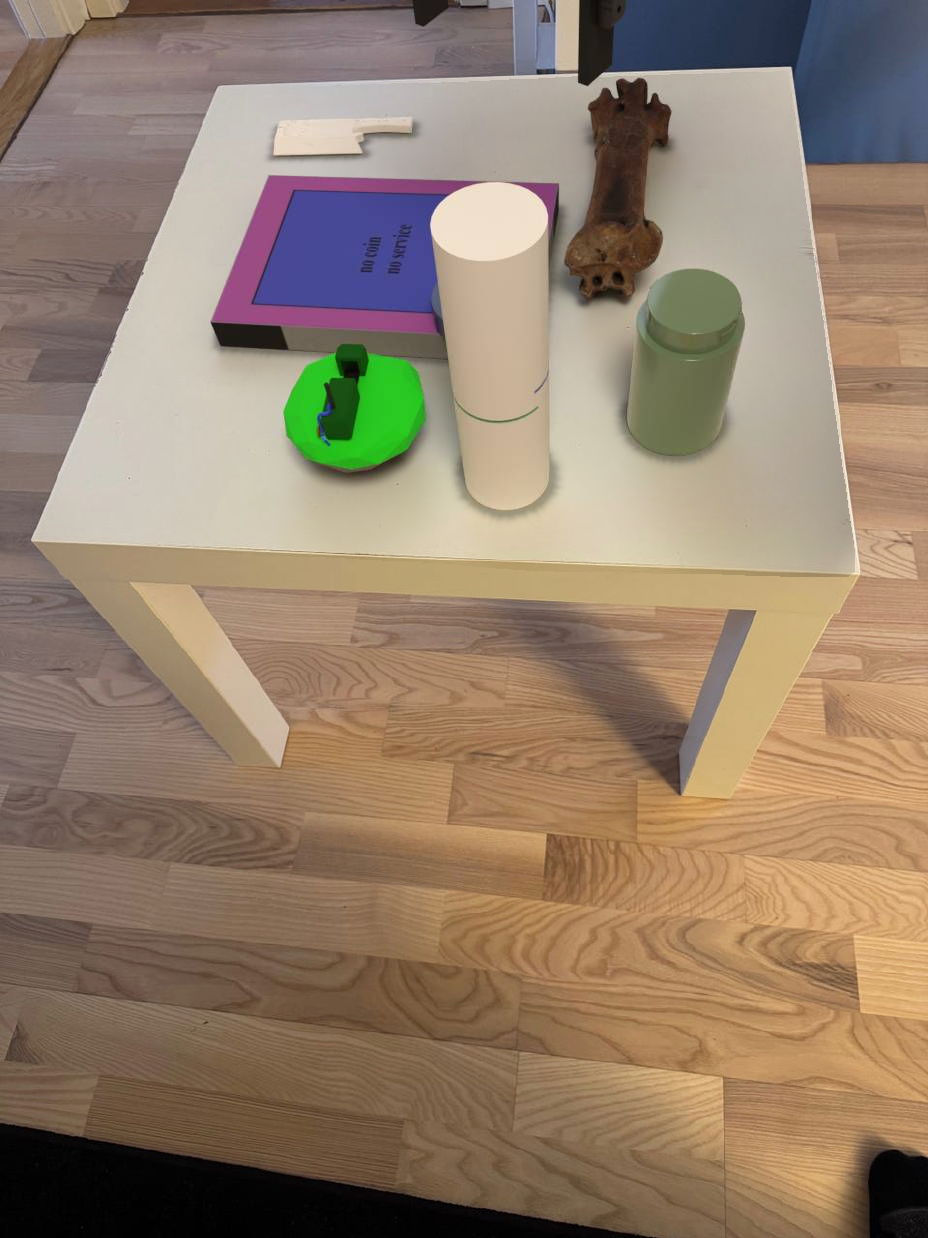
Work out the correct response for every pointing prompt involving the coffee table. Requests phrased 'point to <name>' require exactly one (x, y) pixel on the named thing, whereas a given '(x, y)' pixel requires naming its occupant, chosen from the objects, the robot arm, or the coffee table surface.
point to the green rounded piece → (355, 409)
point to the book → (343, 266)
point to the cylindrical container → (497, 336)
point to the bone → (619, 191)
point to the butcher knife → (332, 134)
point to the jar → (684, 361)
